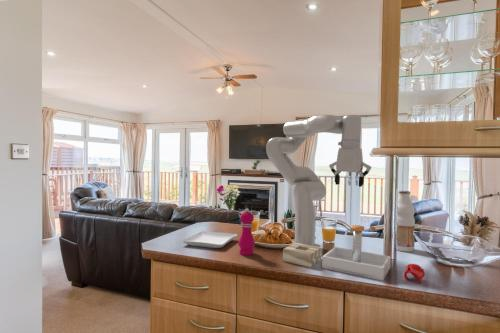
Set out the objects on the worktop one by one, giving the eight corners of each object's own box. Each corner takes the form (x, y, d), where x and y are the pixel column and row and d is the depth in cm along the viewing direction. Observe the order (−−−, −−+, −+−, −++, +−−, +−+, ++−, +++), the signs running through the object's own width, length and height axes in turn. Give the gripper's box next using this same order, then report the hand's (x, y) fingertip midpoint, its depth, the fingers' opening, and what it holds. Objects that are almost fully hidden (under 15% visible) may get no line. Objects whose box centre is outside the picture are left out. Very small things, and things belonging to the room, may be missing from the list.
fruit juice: (396, 251, 141) (398, 191, 140) (389, 246, 150) (390, 189, 150) (417, 252, 140) (419, 192, 140) (409, 247, 149) (410, 190, 149)
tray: (334, 257, 131) (335, 246, 131) (390, 267, 119) (390, 256, 119) (322, 267, 117) (322, 256, 117) (383, 280, 105) (383, 267, 105)
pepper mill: (252, 256, 130) (253, 210, 130) (236, 255, 132) (237, 209, 131) (255, 251, 137) (256, 207, 137) (240, 250, 139) (241, 206, 138)
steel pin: (351, 262, 121) (353, 224, 121) (364, 264, 119) (365, 226, 118) (348, 265, 117) (349, 226, 117) (361, 268, 115) (362, 228, 114)
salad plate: (181, 247, 144) (181, 239, 144) (201, 236, 164) (201, 230, 164) (222, 251, 137) (222, 244, 137) (238, 240, 158) (238, 233, 158)
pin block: (295, 254, 135) (295, 242, 134) (321, 259, 128) (321, 247, 128) (282, 261, 124) (283, 249, 124) (310, 267, 118) (310, 254, 118)
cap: (423, 277, 101) (429, 265, 104) (405, 267, 104) (411, 256, 107) (417, 290, 105) (423, 278, 109) (400, 280, 109) (406, 268, 112)
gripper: (327, 144, 129) (325, 184, 130) (370, 144, 119) (367, 187, 120) (333, 145, 135) (331, 183, 136) (374, 145, 125) (372, 186, 126)
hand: (348, 185), depth 128 cm, fingers open, 9 cm apart
